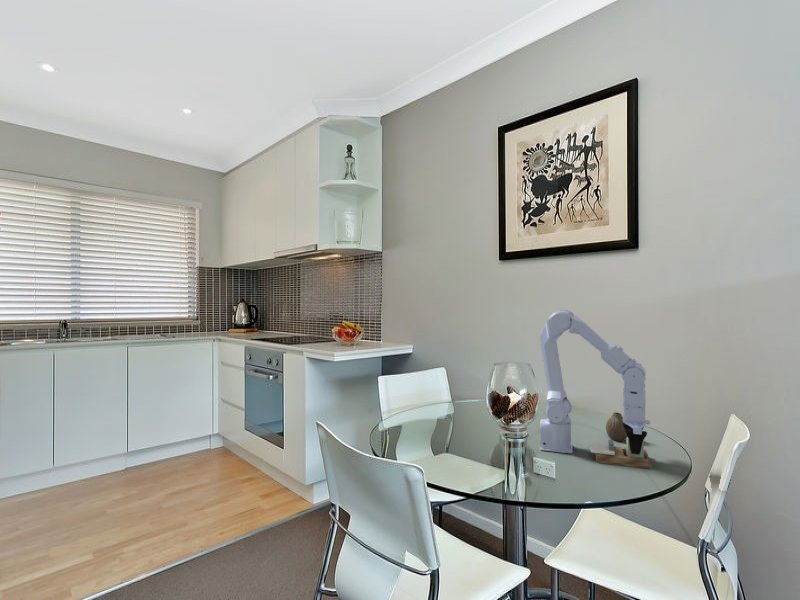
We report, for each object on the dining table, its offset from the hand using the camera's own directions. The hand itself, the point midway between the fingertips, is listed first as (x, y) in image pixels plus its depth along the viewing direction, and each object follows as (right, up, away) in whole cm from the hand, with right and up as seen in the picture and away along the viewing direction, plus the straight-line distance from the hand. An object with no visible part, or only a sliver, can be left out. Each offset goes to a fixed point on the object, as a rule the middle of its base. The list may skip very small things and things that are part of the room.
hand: (634, 450), depth 128 cm
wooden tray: (-3, -3, +1) cm, 5 cm away
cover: (-8, -1, +3) cm, 9 cm away
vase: (+4, -3, +18) cm, 19 cm away
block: (0, -2, 0) cm, 2 cm away
